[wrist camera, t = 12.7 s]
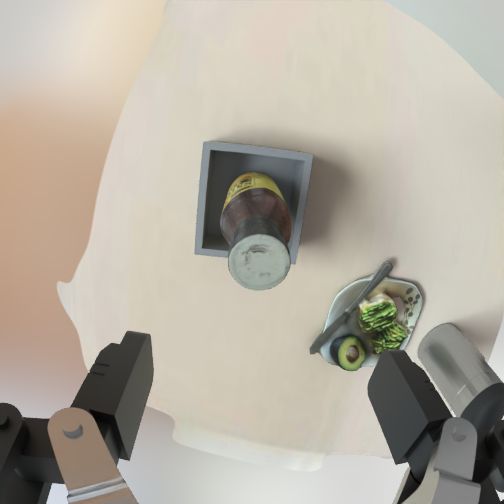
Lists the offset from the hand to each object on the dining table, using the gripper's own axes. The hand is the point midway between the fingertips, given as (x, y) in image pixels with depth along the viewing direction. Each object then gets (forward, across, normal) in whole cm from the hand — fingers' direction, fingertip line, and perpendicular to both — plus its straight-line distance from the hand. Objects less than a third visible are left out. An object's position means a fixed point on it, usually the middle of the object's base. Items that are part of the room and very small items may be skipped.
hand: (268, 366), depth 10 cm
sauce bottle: (+30, 0, 0) cm, 30 cm away
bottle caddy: (+31, 0, 0) cm, 31 cm away
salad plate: (+32, -21, +18) cm, 42 cm away
